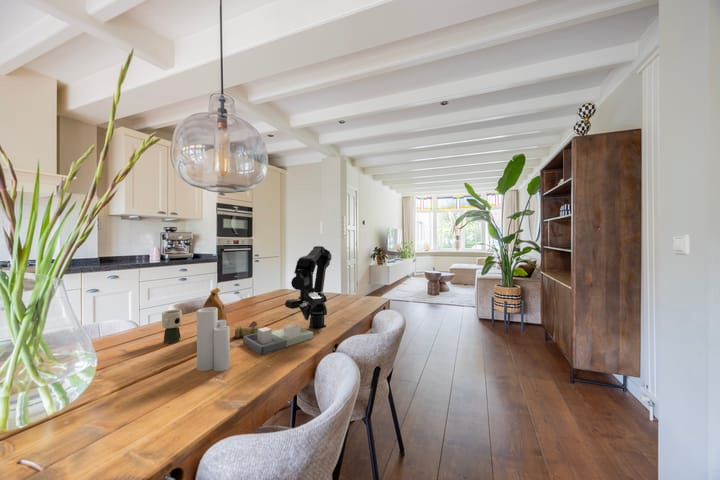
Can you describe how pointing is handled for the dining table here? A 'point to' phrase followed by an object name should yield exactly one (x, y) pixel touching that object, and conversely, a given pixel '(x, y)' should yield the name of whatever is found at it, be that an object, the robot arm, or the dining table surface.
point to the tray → (263, 344)
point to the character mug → (171, 325)
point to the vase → (212, 341)
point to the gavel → (246, 330)
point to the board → (304, 335)
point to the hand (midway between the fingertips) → (306, 320)
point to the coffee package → (216, 304)
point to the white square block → (264, 335)
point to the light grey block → (292, 331)
